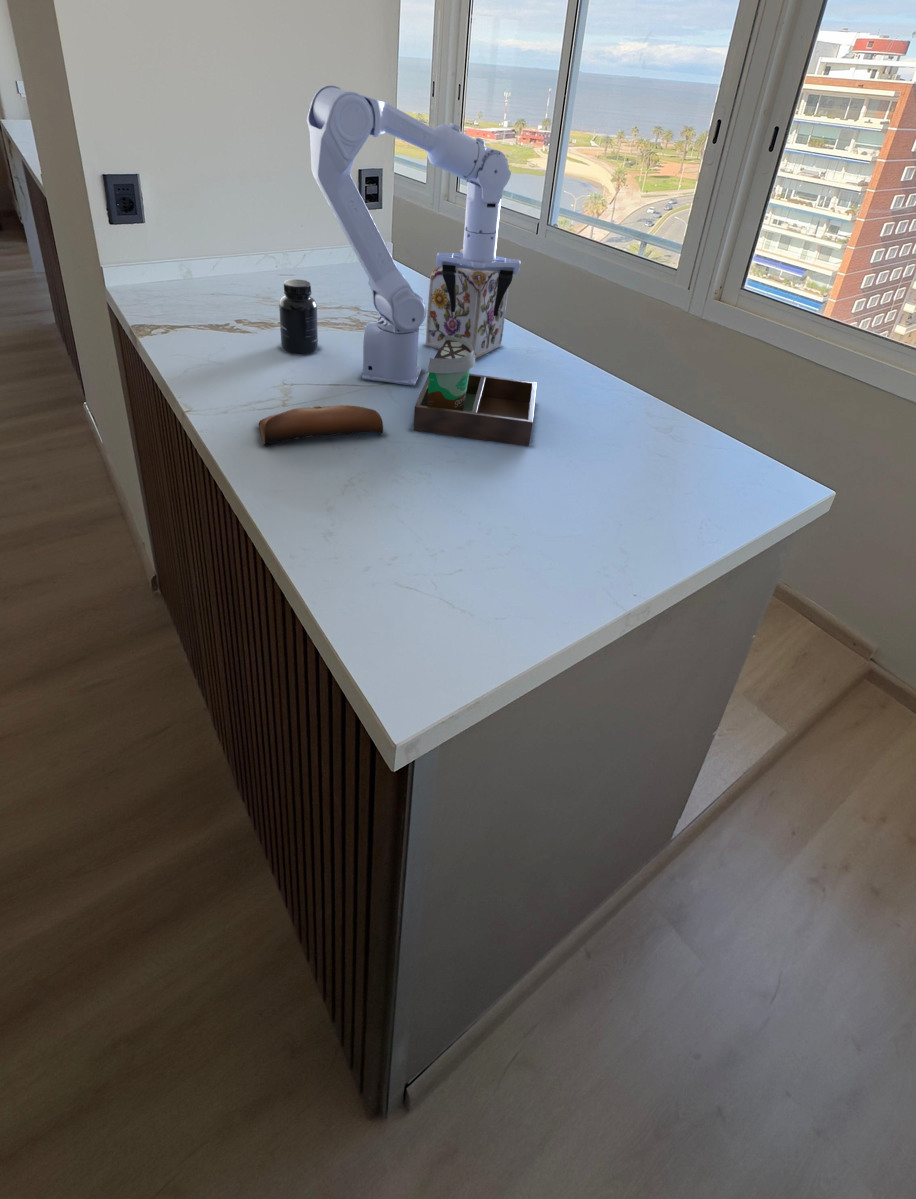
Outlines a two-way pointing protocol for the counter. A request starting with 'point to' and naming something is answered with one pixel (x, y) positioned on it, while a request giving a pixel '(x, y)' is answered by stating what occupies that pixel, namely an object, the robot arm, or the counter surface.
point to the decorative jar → (466, 310)
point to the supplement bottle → (298, 318)
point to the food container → (450, 374)
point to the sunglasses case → (319, 422)
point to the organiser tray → (483, 411)
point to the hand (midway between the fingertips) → (474, 312)
